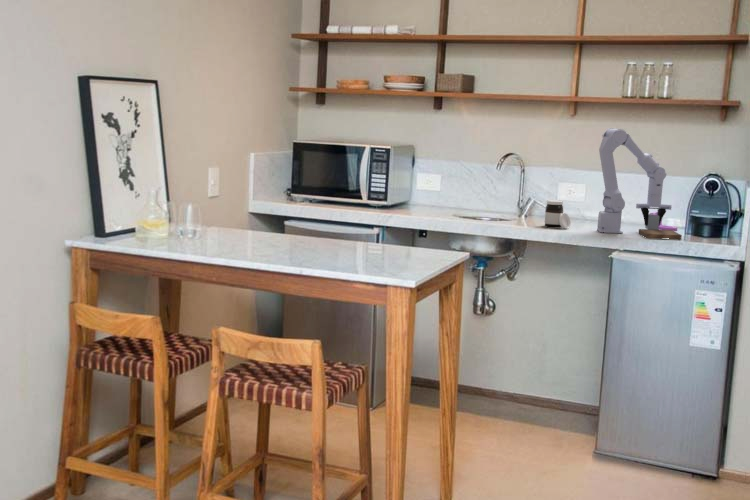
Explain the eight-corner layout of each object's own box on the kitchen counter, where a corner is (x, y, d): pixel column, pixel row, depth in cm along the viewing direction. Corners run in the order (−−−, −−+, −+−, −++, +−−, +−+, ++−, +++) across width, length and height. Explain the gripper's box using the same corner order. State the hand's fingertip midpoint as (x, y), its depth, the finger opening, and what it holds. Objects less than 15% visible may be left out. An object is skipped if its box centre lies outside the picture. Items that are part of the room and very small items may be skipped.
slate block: (647, 229, 366) (648, 215, 365) (645, 227, 370) (646, 214, 369) (658, 229, 366) (659, 216, 365) (655, 228, 370) (656, 214, 369)
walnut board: (646, 238, 349) (646, 233, 349) (638, 233, 363) (638, 229, 362) (681, 240, 348) (681, 235, 348) (671, 234, 362) (672, 230, 362)
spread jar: (545, 225, 382) (547, 199, 380) (571, 226, 379) (573, 200, 377) (542, 228, 371) (544, 201, 369) (569, 230, 367) (570, 203, 366)
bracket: (646, 227, 383) (648, 212, 382) (653, 227, 386) (655, 211, 385) (672, 231, 373) (674, 216, 372) (679, 230, 376) (681, 215, 375)
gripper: (639, 194, 362) (637, 226, 364) (674, 195, 361) (671, 227, 363) (636, 192, 369) (633, 223, 371) (670, 194, 368) (667, 225, 370)
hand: (652, 225), depth 368 cm, fingers closed on slate block, 4 cm apart
